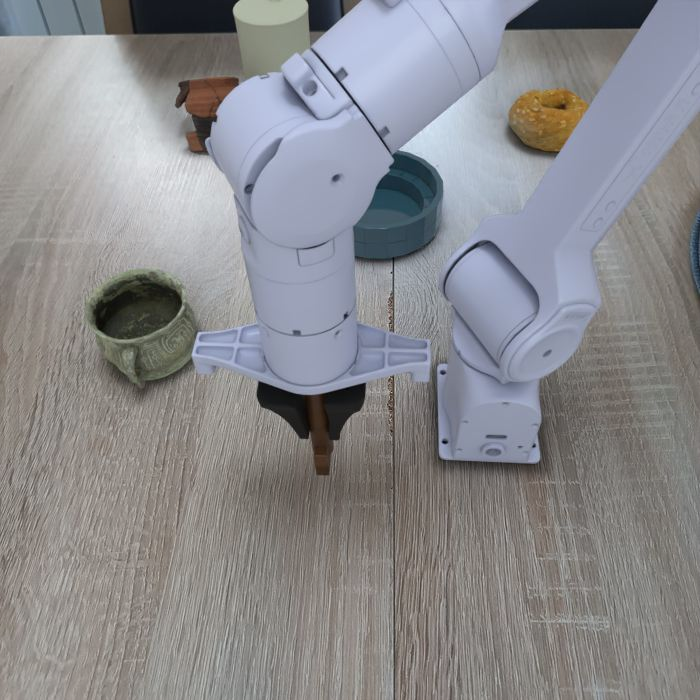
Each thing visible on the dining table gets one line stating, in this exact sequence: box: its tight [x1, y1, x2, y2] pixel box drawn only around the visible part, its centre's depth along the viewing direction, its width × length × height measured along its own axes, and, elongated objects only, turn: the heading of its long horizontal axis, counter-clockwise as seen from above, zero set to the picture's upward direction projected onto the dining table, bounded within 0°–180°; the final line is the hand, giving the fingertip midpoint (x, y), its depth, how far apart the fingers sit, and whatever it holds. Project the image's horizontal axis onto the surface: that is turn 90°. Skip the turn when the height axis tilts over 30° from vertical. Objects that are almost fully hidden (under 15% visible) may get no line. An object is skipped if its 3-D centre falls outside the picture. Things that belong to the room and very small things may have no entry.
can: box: [232, 0, 311, 81], centre depth 83 cm, size 9×9×12 cm
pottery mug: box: [174, 76, 240, 152], centre depth 81 cm, size 12×10×8 cm
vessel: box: [83, 267, 197, 389], centre depth 58 cm, size 12×9×6 cm
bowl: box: [353, 149, 444, 260], centre depth 70 cm, size 13×13×4 cm
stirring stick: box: [304, 393, 335, 477], centre depth 47 cm, size 3×2×10 cm, turn 176°
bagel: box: [507, 87, 590, 152], centre depth 79 cm, size 10×11×5 cm
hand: (320, 427), depth 47 cm, fingers closed on stirring stick, 1 cm apart
